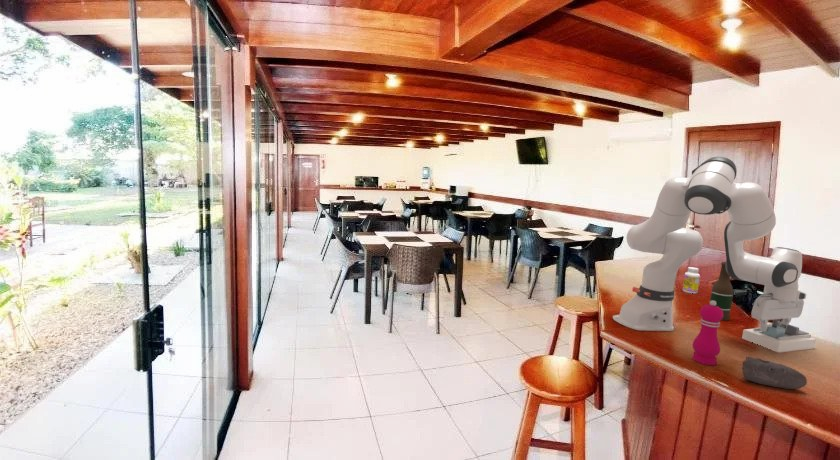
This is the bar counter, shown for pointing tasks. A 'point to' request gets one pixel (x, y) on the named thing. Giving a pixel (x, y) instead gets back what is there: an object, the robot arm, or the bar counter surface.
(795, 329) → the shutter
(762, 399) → the bar counter surface
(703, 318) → the pepper mill
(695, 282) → the supplement bottle
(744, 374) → the perforated stone tool
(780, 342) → the socket board
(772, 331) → the plug
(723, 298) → the beer bottle
